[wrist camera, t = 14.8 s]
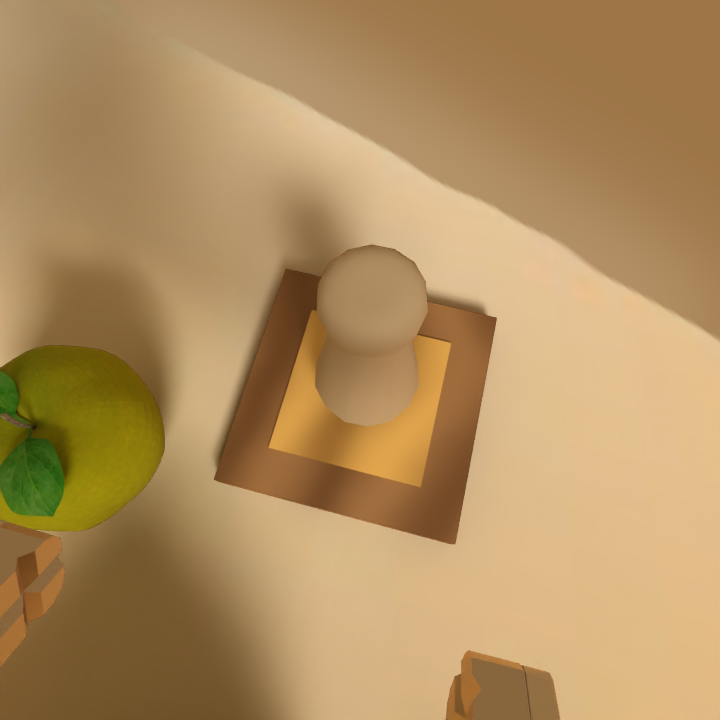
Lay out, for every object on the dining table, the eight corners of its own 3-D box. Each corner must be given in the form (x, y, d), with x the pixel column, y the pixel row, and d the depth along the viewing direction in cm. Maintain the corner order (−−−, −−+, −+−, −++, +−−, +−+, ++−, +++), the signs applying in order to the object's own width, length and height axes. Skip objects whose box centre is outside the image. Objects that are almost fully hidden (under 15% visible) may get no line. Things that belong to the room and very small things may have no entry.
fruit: (83, 568, 29) (-49, 582, 20) (6, 441, 32) (-144, 400, 22) (217, 464, 31) (156, 431, 22) (136, 352, 34) (48, 278, 24)
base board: (220, 482, 31) (212, 479, 29) (288, 279, 35) (285, 267, 34) (450, 544, 30) (455, 544, 28) (491, 326, 34) (497, 316, 33)
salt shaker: (358, 454, 30) (359, 394, 17) (298, 380, 31) (260, 276, 19) (434, 393, 31) (485, 296, 19) (373, 324, 32) (383, 192, 20)
